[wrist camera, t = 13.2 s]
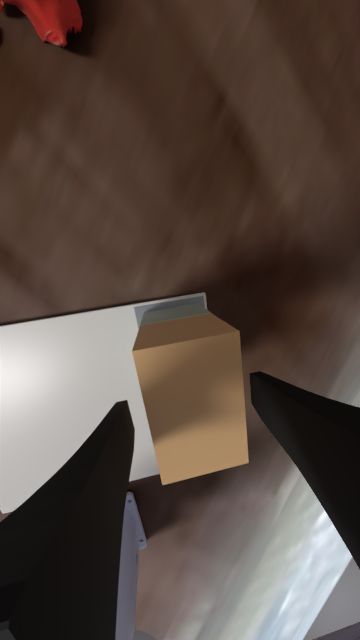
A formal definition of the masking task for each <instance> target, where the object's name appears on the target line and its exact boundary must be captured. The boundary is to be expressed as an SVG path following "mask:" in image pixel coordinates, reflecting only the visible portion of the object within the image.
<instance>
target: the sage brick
mask: <svg viewBox="0 0 360 640" xmlns="http://www.w3.org/2000/svg"><path fill="white" fill-rule="evenodd" d="M208 313H211V312H210V311H208V310H207V309H205V308H203V307H202V306H200V305H198V304H191V305H185V306H179V307H173V308H167V309H161V310H156V311H150V312H144V314H143V317H142V320H141V323H140V325H146V324H151V323H157V322H163V321H168V320H174V319H180V318H186V317H191V316H197V315H203V314H208Z"/></svg>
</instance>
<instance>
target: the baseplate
mask: <svg viewBox="0 0 360 640" xmlns="http://www.w3.org/2000/svg"><path fill="white" fill-rule="evenodd" d="M191 304H198V305H200V306H202V307H203V308H205V309H207V303H206V294H205V292H202V293H196V294H190V295H184V296H178V297H172V298H166V299H160V300H154V301H148V302H142V303H135V304H129V305H123V306H117V307H111V308H105V309H99V310H93V311H87V312H81V313H75V314H69V315H63V316H57V317H51V318H45V319H39V320H33V321H27V322H21V323H14V324H8V325H2V326H0V510H1V512H2V513H3V514H4V513H8V512H12V511H14V510H16V509H17V508H18V507H19V506H20V505H21V504H23V503H24V502H25V501H26V500H27V499H28V498H29V497H30V496H31V495H32V494H34V493H35V492H36V491H37V490H38V489H39V488H40V487H41V486H42V485H43V484H44V483H46V482H47V481H48V480H49V479H50V478H51V477H52V476H53V475H54V474H55V473H56V472H57V471H58V470H59V469H60V468H61V467H62V466H63V465H64V464H65V463H66V462H67V461H68V460H69V459H70V458H71V457H72V456H73V454H74V453H75V452H76V451H77V450H78V449H79V448H80V446H81V445H82V444H83V443H84V442H85V441H86V439H87V438H88V437H89V436H90V435H91V434H92V432H93V431H94V430H95V429H96V427H97V426H98V425H99V424H100V422H101V421H102V420H103V418H104V417H105V416H106V415H107V413H108V412H109V411H110V409H111V408H112V407H113V405H114V404H115V403H116V402H119V401H124V400H127V401H128V405H129V409H130V413H131V417H132V421H133V425H134V428H135V439H134V453H133V459H132V466H131V472H130V478H129V481H133V480H137V479H141V478H145V477H149V476H153V475H156V474H160V472H159V468H158V463H157V459H156V455H155V450H154V446H153V442H152V437H151V433H150V428H149V424H148V420H147V415H146V411H145V407H144V402H143V398H142V393H141V389H140V385H139V380H138V376H137V372H136V367H135V363H134V359H133V354H132V349H133V346H134V343H135V340H136V337H137V334H138V330H139V327H140V323H141V320H142V317H143V314H144V312H150V311H156V310H161V309H167V308H173V307H179V306H185V305H191Z"/></svg>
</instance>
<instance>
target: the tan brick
mask: <svg viewBox="0 0 360 640" xmlns="http://www.w3.org/2000/svg"><path fill="white" fill-rule="evenodd" d="M132 354H133V359H134V363H135V367H136V372H137V376H138V380H139V385H140V389H141V393H142V398H143V402H144V407H145V411H146V415H147V420H148V424H149V428H150V433H151V437H152V442H153V446H154V450H155V455H156V459H157V463H158V468H159V472H160V477H161V481H162V485H166V484H170V483H173V482H177V481H181V480H185V479H189V478H193V477H196V476H200V475H204V474H208V473H212V472H216V471H219V470H223V469H227V468H231V467H235V466H239V465H242V464H246V463H249V459H248V444H247V430H246V416H245V401H244V387H243V373H242V358H241V344H240V331H239V330H237V329H235V328H234V327H232V326H231V325H229V324H228V323H226V322H224V321H223V320H221V319H220V318H218V317H216V316H215V315H213V314H212V313H208V314H203V315H197V316H191V317H186V318H180V319H174V320H168V321H163V322H157V323H151V324H146V325H140V327H139V330H138V334H137V337H136V340H135V343H134V346H133V349H132Z"/></svg>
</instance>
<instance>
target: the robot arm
mask: <svg viewBox="0 0 360 640" xmlns="http://www.w3.org/2000/svg"><path fill="white" fill-rule="evenodd" d="M250 385H251V401H252V404H253V406H254V408H255V410H256V411H257V413H258V415H259V416H260V418H261V420H262V421H263V422H264V424H265V425H266V426H267V428H268V429H269V430H270V432H271V433H272V434H273V435H274V437H275V438H276V439H277V441H278V442H279V443H280V445H281V446H282V447H283V448H284V450H285V451H286V452H287V454H288V455H289V456H290V457H291V459H292V460H293V462H294V463H295V464H296V466H297V467H298V469H299V470H300V472H301V473H302V475H303V476H304V478H305V479H306V481H307V483H308V484H309V486H310V487H311V489H312V490H313V492H314V493H315V495H316V497H317V498H318V500H319V502H320V503H321V505H322V506H323V508H324V510H325V511H326V513H327V514H328V516H329V518H330V519H331V521H332V523H333V524H334V526H335V528H336V529H337V531H338V533H339V534H340V536H341V538H342V539H343V541H344V543H345V545H346V546H347V548H348V550H349V551H350V553H351V555H352V556H353V558H354V560H355V562H356V563H357V565H358V567H359V569H360V408H359V407H355V406H352V405H348V404H345V403H341V402H338V401H335V400H332V399H328V398H325V397H323V396H320V395H317V394H314V393H312V392H309V391H306V390H304V389H301V388H299V387H296V386H294V385H291V384H289V383H287V382H284V381H282V380H280V379H277V378H275V377H273V376H270V375H268V374H265V373H263V372H260V371H259V372H254V373H250ZM134 439H135V428H134V425H133V421H132V417H131V413H130V409H129V405H128V401H127V400H124V401H119V402H116V403H115V404H114V405H113V407H112V408H111V409H110V411H109V412H108V413H107V415H106V416H105V417H104V418H103V420H102V421H101V422H100V424H99V425H98V426H97V427H96V429H95V430H94V431H93V432H92V434H91V435H90V436H89V437H88V438H87V439H86V441H85V442H84V443H83V444H82V445H81V446H80V448H79V449H78V450H77V451H76V452H75V453H74V454H73V456H72V457H71V458H70V459H69V460H68V461H67V462H66V463H65V464H64V465H63V466H62V467H61V468H60V469H59V470H58V471H57V472H56V473H55V474H54V475H53V476H52V477H51V478H50V479H49V480H48V481H47V482H46V483H44V484H43V485H42V486H41V487H40V488H39V489H38V490H37V491H36V492H35V493H34V494H32V495H31V496H30V497H29V498H28V499H27V500H26V501H25V502H24V503H23V504H21V505H20V506H19V507H18V508H17V509H16V510H14V511H13V512H12V513H11V514H10V515H8V516H7V517H6V518H5V519H4V520H2V521H1V522H0V640H132V639H133V633H134V627H135V612H136V595H137V578H138V561H139V549H142V548H145V547H146V546H147V540H146V536H145V533H144V529H143V526H142V522H141V519H140V515H139V512H138V508H137V505H136V501H135V498H134V495H133V493H132V492H127V490H128V484H129V478H130V472H131V466H132V459H133V453H134ZM313 640H360V622H359V623H356V624H354V625H351V626H348V627H345V628H343V629H340V630H337V631H335V632H332V633H329V634H327V635H324V636H321V637H319V638H316V639H313Z"/></svg>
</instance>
